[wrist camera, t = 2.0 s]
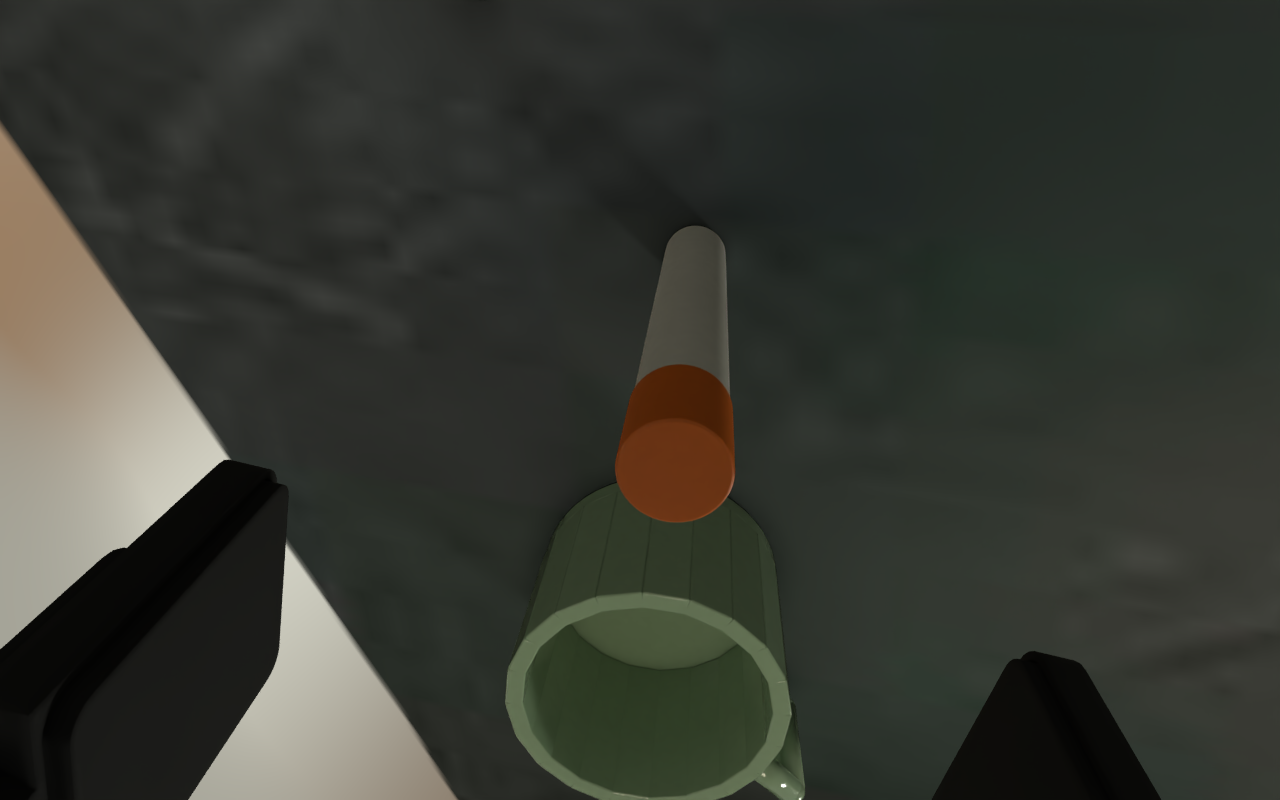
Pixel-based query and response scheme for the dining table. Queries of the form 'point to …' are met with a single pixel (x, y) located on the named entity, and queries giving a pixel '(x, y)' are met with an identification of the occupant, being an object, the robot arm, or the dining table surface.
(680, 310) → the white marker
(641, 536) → the mug
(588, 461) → the dining table surface
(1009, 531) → the dining table surface
